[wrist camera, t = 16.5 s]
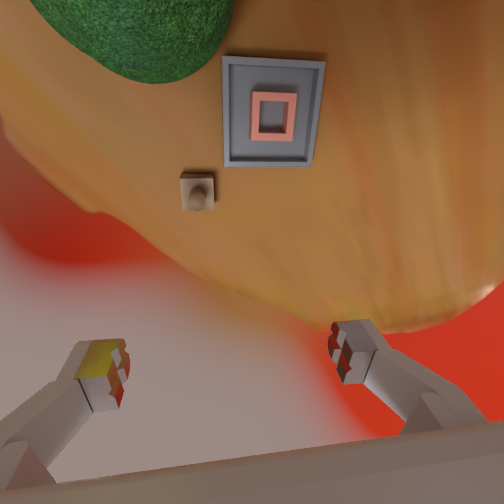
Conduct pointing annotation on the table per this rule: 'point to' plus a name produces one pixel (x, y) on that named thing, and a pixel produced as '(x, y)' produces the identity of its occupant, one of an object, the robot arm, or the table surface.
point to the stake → (197, 191)
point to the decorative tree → (142, 33)
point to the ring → (287, 119)
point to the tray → (269, 110)
